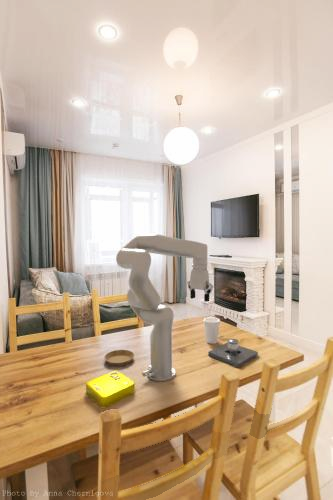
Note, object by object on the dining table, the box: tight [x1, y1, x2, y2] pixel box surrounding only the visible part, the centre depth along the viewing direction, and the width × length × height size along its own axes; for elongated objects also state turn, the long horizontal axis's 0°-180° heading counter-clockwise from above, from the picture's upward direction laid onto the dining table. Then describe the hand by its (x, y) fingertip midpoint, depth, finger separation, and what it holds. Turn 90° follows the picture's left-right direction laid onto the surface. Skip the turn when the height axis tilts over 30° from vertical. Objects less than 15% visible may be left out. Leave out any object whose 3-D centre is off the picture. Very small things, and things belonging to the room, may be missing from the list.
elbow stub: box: [227, 338, 239, 356], centre depth 136 cm, size 5×5×8 cm
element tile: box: [85, 370, 136, 409], centre depth 106 cm, size 15×15×5 cm
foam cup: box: [203, 316, 221, 345], centre depth 155 cm, size 10×9×13 cm
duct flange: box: [207, 341, 259, 368], centre depth 137 cm, size 18×18×2 cm
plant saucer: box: [104, 349, 135, 367], centre depth 133 cm, size 15×15×3 cm
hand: (199, 299), depth 139 cm, fingers open, 9 cm apart
